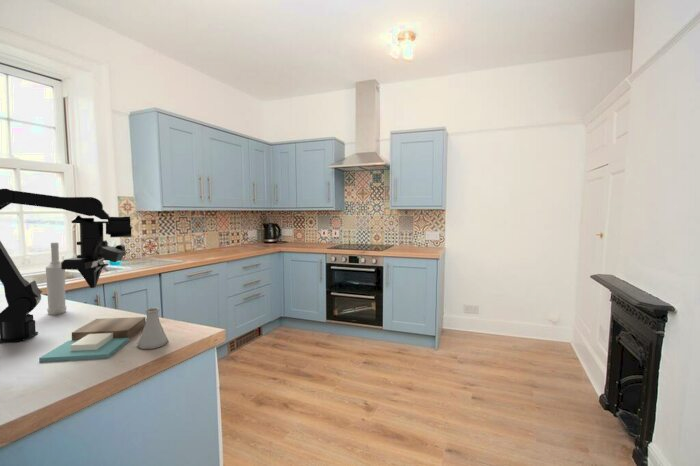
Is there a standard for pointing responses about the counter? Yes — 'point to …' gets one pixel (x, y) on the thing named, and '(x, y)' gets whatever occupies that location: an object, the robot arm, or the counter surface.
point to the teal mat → (84, 351)
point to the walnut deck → (111, 327)
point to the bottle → (55, 283)
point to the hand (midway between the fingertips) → (93, 287)
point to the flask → (152, 331)
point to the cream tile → (91, 341)
